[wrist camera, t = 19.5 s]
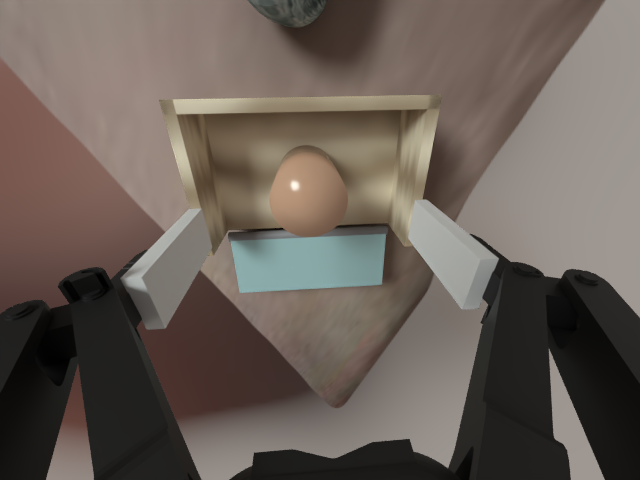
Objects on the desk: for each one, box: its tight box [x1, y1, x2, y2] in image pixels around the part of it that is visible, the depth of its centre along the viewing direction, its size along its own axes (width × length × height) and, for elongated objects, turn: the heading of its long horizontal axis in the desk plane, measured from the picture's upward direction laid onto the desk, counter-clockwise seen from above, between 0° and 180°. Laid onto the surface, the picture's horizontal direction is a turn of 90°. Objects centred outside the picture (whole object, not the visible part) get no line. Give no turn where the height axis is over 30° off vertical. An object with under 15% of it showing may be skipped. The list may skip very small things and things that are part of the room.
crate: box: [159, 95, 442, 256], centre depth 27 cm, size 14×22×9 cm, turn 91°
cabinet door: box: [228, 225, 388, 293], centre depth 33 cm, size 1×20×9 cm
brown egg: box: [269, 145, 348, 237], centre depth 24 cm, size 6×6×9 cm
